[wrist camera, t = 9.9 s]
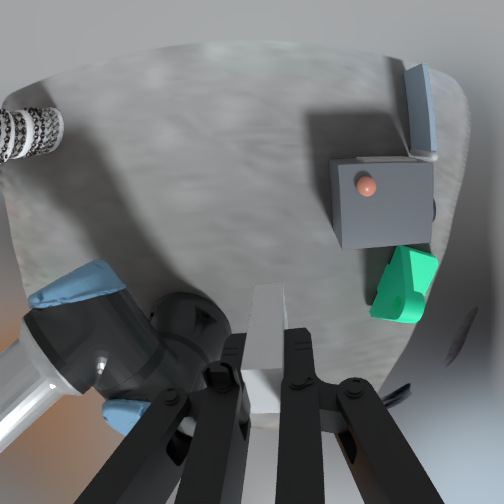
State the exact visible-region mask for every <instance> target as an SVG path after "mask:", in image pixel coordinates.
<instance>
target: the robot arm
mask: <svg viewBox="0 0 504 504" xmlns="http://www.w3.org/2000/svg"><path fill="white" fill-rule="evenodd" d="M126 287H127V286H126V284H124V283H122V282H121V280H120V279H119V278H118V276H117V275H116V273H115V272H114V270H113V269H112V268H111V266H110V265H109V264H108V263H107V262H105V261H103V260H94V261H91V262H89V263H87V264H85V265H83V266H82V267H80V268H78V269H76V270H74V271H72V272H70V273H69V274H67V275H65V276H63V277H61V278H59V279H58V280H56V281H54V282H52V283H50V284H49V285H47V286H45V287H44V288H42V289H40V290H39V291H37V292H35V293H33V294H32V295H30V296H29V297H28V306H29V307H30V308H32V310H31V311H29V313H27V314H26V315H25V316H23V317H22V321H21V333H20V336H19V338H18V339H16V340H15V341H14V342H13V343H12V344H11V345H10V346H8V347H7V348H6V349H5V350H4V351H3V352H2V353H1V354H0V453H1V452H2V451H3V450H4V449H5V448H6V447H7V446H8V445H9V444H10V443H11V442H13V441H14V439H16V438H17V437H18V436H19V435H20V434H21V433H22V432H23V431H24V430H25V429H26V428H28V427H29V426H30V425H31V424H32V423H33V422H34V421H35V420H36V419H37V418H38V417H40V416H41V415H42V414H43V413H44V412H45V411H46V410H47V409H48V408H49V407H50V406H52V405H53V404H54V403H55V402H56V401H57V400H58V399H59V398H60V397H61V396H62V395H64V394H71V395H79V396H82V395H83V394H84V393H85V392H86V391H88V390H89V389H90V388H91V387H92V386H93V387H94V388H95V389H96V390H97V391H98V392H99V393H100V394H101V395H102V396H103V397H104V399H105V400H106V402H104V403H103V405H102V415H103V417H104V419H105V421H106V422H107V423H108V424H109V425H110V426H111V427H112V428H114V429H115V430H117V431H118V432H120V433H121V434H123V435H125V436H126V437H125V438H124V440H123V441H122V442H121V443H120V445H119V446H118V447H117V449H116V450H115V451H114V453H113V454H112V455H111V456H110V458H109V459H108V460H107V461H106V463H105V464H104V465H103V467H102V468H101V469H100V471H99V472H98V473H97V474H96V476H95V477H94V478H93V479H92V481H91V482H90V483H89V485H88V486H87V487H86V488H85V490H84V491H83V492H82V493H81V495H80V496H79V497H78V499H77V500H76V501H75V502H74V504H165V503H166V501H167V500H168V498H169V496H170V495H171V493H172V492H173V490H174V488H175V487H176V485H177V483H178V482H179V480H180V478H181V480H180V484H179V488H178V491H177V495H176V499H175V503H174V504H241V498H242V491H243V483H244V476H245V468H246V460H247V452H248V444H249V436H250V428H251V420H250V417H249V414H250V408H251V412H252V413H279V412H280V425H279V447H278V465H277V482H276V497H275V504H325V495H324V472H323V455H322V438H321V431H325V432H330V433H334V435H335V437H336V439H337V441H338V443H339V446H340V448H341V451H342V453H343V455H344V457H345V460H346V462H347V464H348V467H349V469H350V471H351V473H352V476H353V478H354V480H355V482H356V485H357V487H358V489H359V492H360V494H361V496H362V499H363V501H364V503H365V504H444V502H443V500H442V499H441V497H440V495H439V493H438V492H437V490H436V488H435V487H434V485H433V483H432V482H431V480H430V478H429V477H428V475H427V473H426V471H425V470H424V468H423V467H422V465H421V463H420V462H419V460H418V458H417V457H416V455H415V453H414V452H413V450H412V448H411V447H410V445H409V444H408V442H407V440H406V439H405V437H404V436H403V434H402V432H401V431H400V429H399V428H398V426H397V424H396V423H395V421H394V420H393V418H392V416H391V415H390V413H389V412H388V410H387V409H386V407H385V405H384V404H383V402H382V401H381V399H380V398H379V396H378V394H377V393H376V391H375V390H374V388H373V387H372V385H371V384H370V383H369V382H368V381H367V380H365V379H362V378H356V377H354V378H348V379H346V380H344V381H342V382H341V383H340V384H339V385H336V384H329V383H326V382H323V381H321V380H320V379H319V378H318V377H317V375H316V373H315V367H314V358H313V349H312V340H311V334H310V332H309V331H308V330H307V329H306V328H295V329H288V325H287V314H286V306H285V297H284V289H283V282H281V283H271V284H261V285H255V290H254V296H253V302H252V308H251V313H250V319H249V325H248V331H247V333H239V334H231V328H230V325H229V322H228V320H227V318H226V317H225V315H224V314H223V313H222V312H221V311H220V309H219V308H217V307H216V306H215V305H214V304H212V303H211V302H209V301H208V300H206V299H204V298H202V297H199V296H196V295H193V294H188V293H174V294H169V295H167V296H164V297H163V298H161V299H160V300H158V301H157V303H156V304H155V305H154V307H153V308H152V309H151V311H150V313H149V315H148V318H146V316H145V315H144V314H143V312H142V311H141V309H140V308H139V306H138V305H137V304H136V302H135V301H134V299H133V298H132V296H131V295H130V293H129V292H128V290H127V289H126ZM206 385H207V387H206Z"/></svg>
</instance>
